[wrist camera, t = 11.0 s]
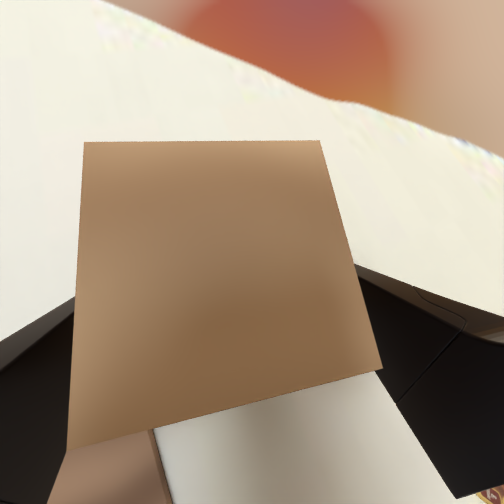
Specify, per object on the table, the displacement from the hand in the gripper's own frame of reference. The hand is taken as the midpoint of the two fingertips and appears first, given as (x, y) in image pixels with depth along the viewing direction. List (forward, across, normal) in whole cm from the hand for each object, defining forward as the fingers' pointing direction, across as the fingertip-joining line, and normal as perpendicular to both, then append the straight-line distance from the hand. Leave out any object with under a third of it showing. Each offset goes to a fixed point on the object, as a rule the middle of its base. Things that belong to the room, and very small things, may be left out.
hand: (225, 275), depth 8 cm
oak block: (+5, 0, +5) cm, 7 cm away
